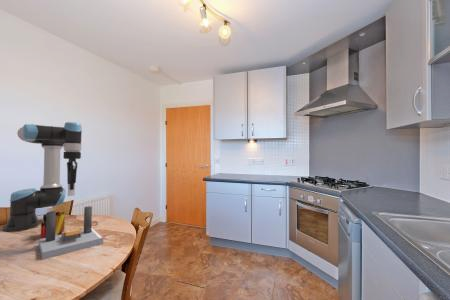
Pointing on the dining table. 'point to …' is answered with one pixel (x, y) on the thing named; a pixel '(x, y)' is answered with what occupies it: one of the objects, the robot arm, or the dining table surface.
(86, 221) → the post
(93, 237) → the panel
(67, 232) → the paddle
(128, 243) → the dining table surface
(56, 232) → the mug
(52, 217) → the cylinder
